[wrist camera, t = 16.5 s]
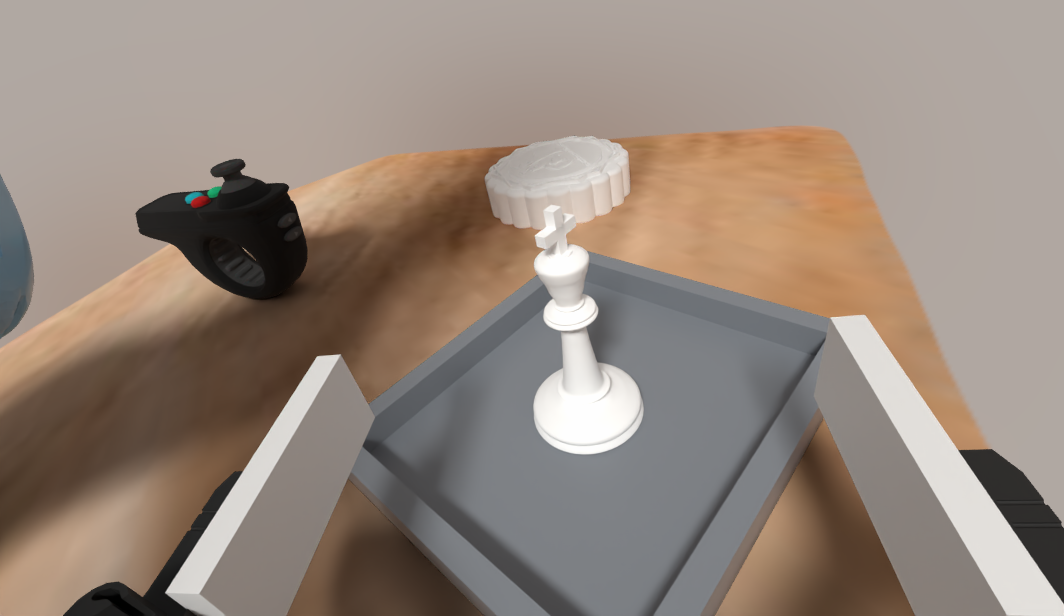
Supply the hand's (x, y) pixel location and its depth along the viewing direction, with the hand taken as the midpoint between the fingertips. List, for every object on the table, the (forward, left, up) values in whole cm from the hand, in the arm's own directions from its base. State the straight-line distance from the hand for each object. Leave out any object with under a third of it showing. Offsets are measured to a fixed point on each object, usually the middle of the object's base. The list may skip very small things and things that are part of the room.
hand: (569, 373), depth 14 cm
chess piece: (-4, +4, -8) cm, 9 cm away
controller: (-32, 0, -8) cm, 33 cm away
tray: (-3, +4, -8) cm, 10 cm away
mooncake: (-20, +22, -8) cm, 31 cm away
